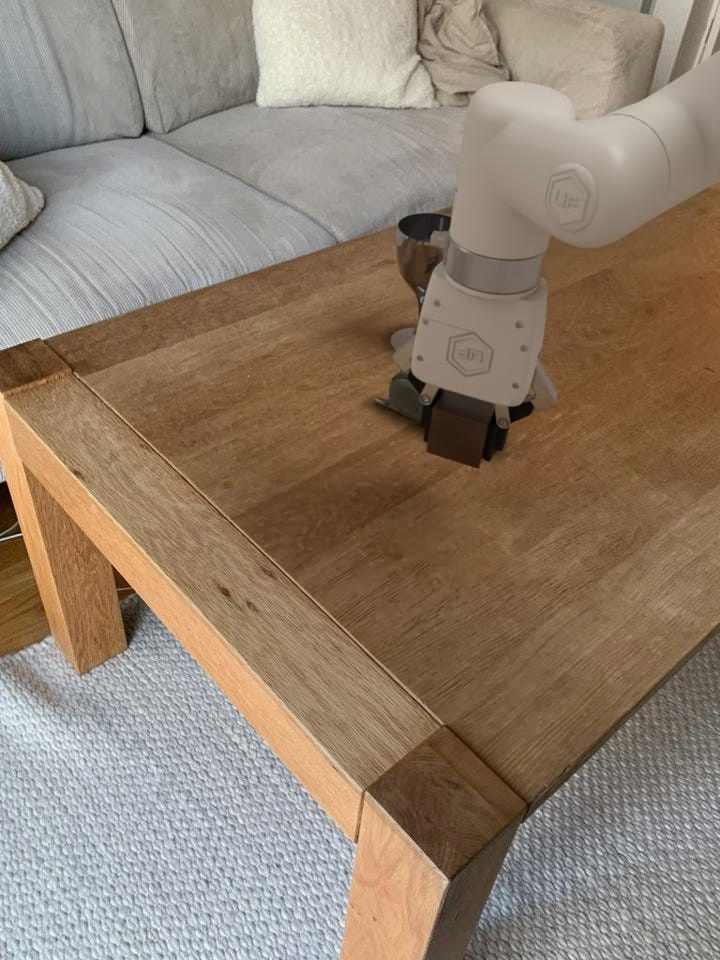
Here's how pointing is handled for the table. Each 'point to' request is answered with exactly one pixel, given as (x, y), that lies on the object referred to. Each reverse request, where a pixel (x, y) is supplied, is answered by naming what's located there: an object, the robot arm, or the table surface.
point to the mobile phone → (403, 397)
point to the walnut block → (460, 428)
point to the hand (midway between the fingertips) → (461, 441)
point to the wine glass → (417, 259)
